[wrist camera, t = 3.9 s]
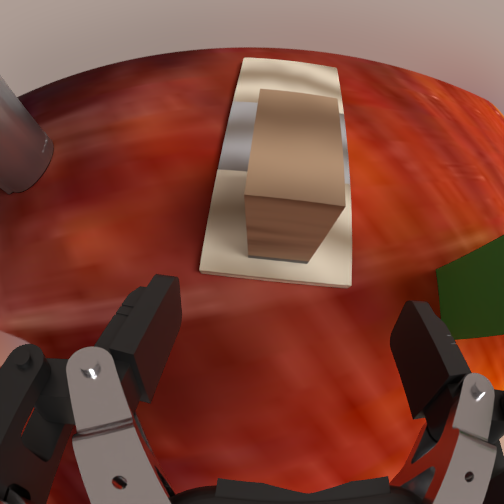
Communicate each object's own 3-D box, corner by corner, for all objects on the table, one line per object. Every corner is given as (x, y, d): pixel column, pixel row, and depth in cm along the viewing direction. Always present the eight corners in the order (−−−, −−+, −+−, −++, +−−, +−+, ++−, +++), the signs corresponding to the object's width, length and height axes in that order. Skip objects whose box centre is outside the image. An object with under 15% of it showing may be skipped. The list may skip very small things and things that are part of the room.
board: (346, 288, 24) (351, 285, 23) (201, 273, 25) (199, 270, 24) (335, 74, 33) (336, 67, 32) (244, 63, 34) (244, 57, 33)
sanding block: (307, 263, 24) (345, 206, 13) (248, 257, 24) (244, 194, 14) (310, 182, 26) (337, 98, 16) (258, 176, 26) (260, 88, 16)
